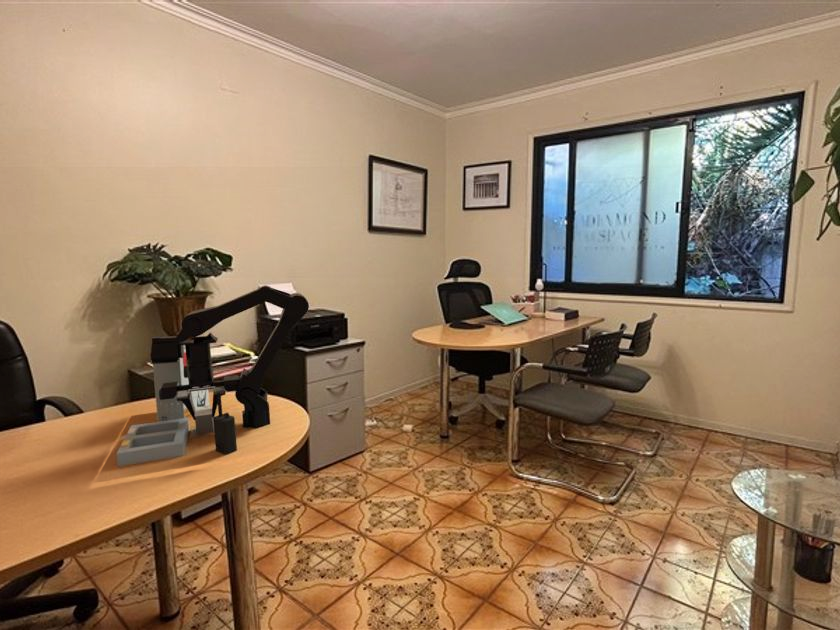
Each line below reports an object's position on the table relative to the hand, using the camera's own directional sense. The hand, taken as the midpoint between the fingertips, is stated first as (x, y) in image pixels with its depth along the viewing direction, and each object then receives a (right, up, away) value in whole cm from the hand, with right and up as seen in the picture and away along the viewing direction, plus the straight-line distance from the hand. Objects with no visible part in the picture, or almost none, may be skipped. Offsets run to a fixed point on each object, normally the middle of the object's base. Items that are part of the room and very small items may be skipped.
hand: (204, 418), depth 120 cm
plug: (0, -3, 0) cm, 3 cm away
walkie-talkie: (+10, -6, -11) cm, 16 cm away
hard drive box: (-12, -2, +14) cm, 19 cm away
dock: (-8, -6, -8) cm, 13 cm away
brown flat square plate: (0, -4, +1) cm, 4 cm away
